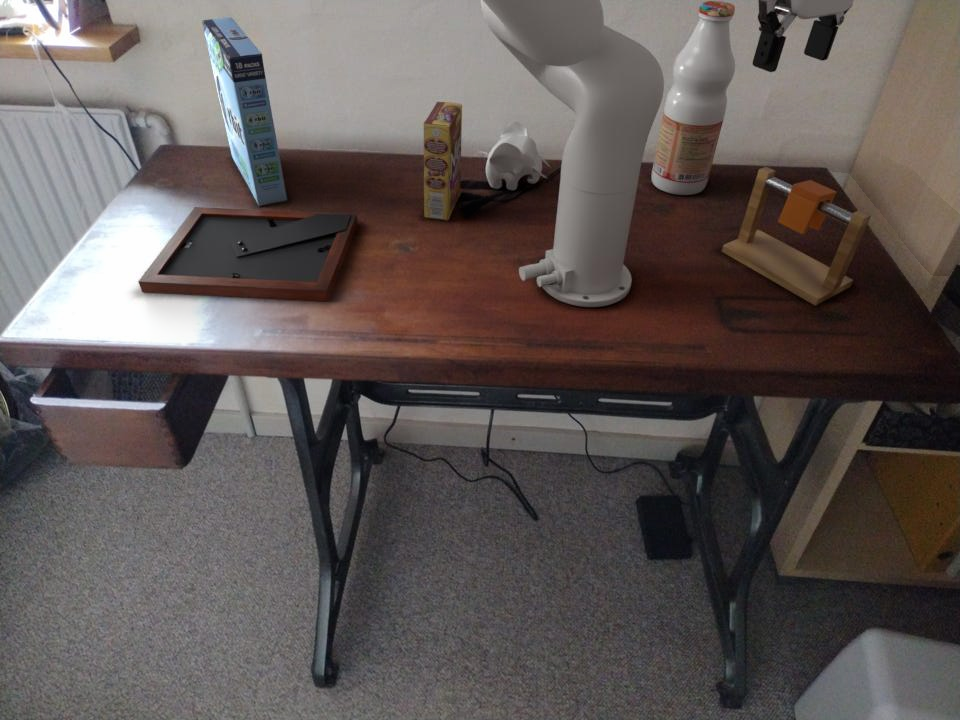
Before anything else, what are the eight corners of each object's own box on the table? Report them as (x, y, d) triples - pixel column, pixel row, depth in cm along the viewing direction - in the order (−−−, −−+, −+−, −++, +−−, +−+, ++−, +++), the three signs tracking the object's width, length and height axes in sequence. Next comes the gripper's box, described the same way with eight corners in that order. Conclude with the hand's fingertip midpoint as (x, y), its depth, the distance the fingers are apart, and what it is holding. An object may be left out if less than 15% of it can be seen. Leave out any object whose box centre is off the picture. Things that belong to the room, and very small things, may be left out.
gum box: (232, 158, 122) (199, 19, 106) (261, 153, 123) (232, 16, 108) (258, 207, 109) (225, 57, 94) (290, 201, 110) (262, 52, 95)
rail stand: (815, 306, 91) (849, 225, 83) (721, 251, 101) (743, 174, 93) (850, 287, 95) (886, 207, 87) (756, 236, 105) (780, 160, 96)
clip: (802, 235, 91) (819, 196, 87) (777, 222, 93) (793, 184, 90) (819, 229, 93) (837, 191, 89) (794, 217, 95) (810, 179, 92)
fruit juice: (639, 182, 117) (671, 3, 99) (670, 166, 122) (707, -7, 104) (685, 202, 112) (729, 17, 94) (716, 184, 117) (764, 5, 99)
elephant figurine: (544, 200, 112) (548, 148, 106) (472, 192, 114) (473, 140, 108) (552, 174, 119) (556, 124, 113) (484, 167, 121) (485, 117, 115)
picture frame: (357, 224, 105) (197, 217, 106) (356, 212, 104) (194, 205, 105) (328, 301, 90) (142, 292, 91) (326, 288, 89) (137, 279, 90)
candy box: (451, 222, 106) (449, 125, 96) (424, 218, 107) (420, 123, 97) (462, 195, 113) (462, 102, 103) (437, 192, 113) (434, 100, 103)
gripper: (821, -94, 68) (767, 83, 79) (920, -101, 75) (858, 61, 86) (760, -104, 72) (718, 64, 84) (860, -110, 80) (809, 45, 91)
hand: (789, 62), depth 85 cm, fingers open, 9 cm apart
